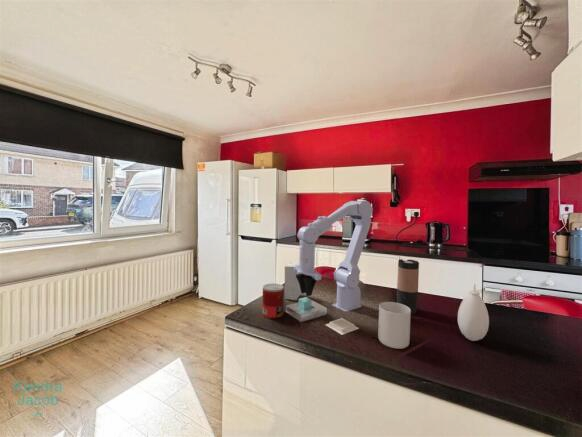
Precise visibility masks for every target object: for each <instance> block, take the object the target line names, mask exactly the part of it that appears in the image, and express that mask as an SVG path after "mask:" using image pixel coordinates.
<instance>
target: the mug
mask: <svg viewBox="0 0 582 437" xmlns="http://www.w3.org/2000/svg"><path fill="white" fill-rule="evenodd" d="M411 315H412V314H411V310H410V308H409V307H407V306H405V305H403V304H400V303H397V302H394V301H384V302H381V303H379V304H378V321H377V322H378V323H377V324H378V325H377V326H378V327H377V328H378V331H377V338H378V340H379V342H380V343H381V344H382V345H383V346H386V347H389V348H391V349H396V350H398V349H399V350H400V349H401V350H402V349H405V348H408V347H409V345H410V337H411V335H410V334H411Z"/></svg>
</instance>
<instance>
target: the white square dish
mask: <svg viewBox="0 0 582 437" xmlns="http://www.w3.org/2000/svg"><path fill="white" fill-rule="evenodd" d="M324 325H325V326H326V327H328V328H330V329H331V330H333V331H334V332H336V333H338V334H339V335H341V336H342V335H345V334H348V333H350V332H353V331H356V330H358V329H360V328H359V327H357V326H356V325H355V324H354V323H352V322H350V321H349V320H347V319H344V318H343V317H340V318H337V319H334V320H331V321H329V323H326V324H324Z"/></svg>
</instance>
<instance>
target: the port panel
mask: <svg viewBox="0 0 582 437" xmlns="http://www.w3.org/2000/svg"><path fill="white" fill-rule="evenodd" d="M311 300H312V299H311ZM327 310H328V308H327V307H326V306H324V305H322V304H320V303H318V302H316V301H315V300H312V302H311V309H308V310H303V309H301V308H300V307H298V302H294V303H291V304H286V305H285V312H286V313H287V314H288V315H290V316H291V317H293V318H294V319H296V320H297V321H299V322H300V323H302V322H305V321H309V320H312V319H316V318H319V317H322V316H325V315H326V316H327V312H328V311H327Z"/></svg>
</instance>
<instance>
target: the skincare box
mask: <svg viewBox="0 0 582 437" xmlns="http://www.w3.org/2000/svg"><path fill="white" fill-rule="evenodd" d="M294 266H299V263H298V262H289V263H288V264H286V265H285V266H284V300H289V301H298V300H299V297H300V296H301V295H302V293H301V290H300V286H299V282H298V280H297V278H296V275H297V274H298V273H297V271H296V272H295V271H294Z"/></svg>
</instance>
